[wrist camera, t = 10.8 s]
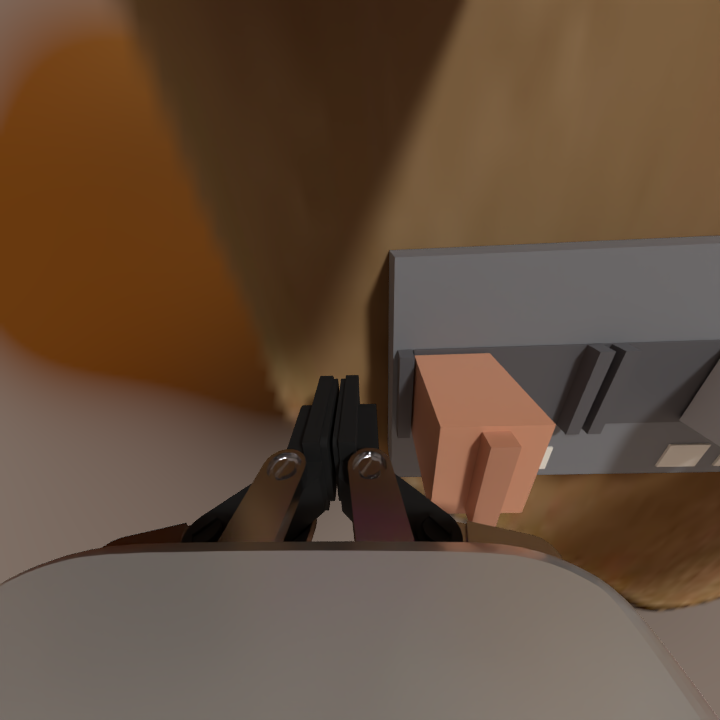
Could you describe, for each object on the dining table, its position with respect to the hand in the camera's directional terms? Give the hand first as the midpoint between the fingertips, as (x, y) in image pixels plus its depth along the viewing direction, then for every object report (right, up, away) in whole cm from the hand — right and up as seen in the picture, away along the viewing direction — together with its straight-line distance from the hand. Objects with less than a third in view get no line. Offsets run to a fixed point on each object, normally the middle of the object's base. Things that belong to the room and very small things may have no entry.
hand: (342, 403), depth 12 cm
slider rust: (+5, 0, 0) cm, 5 cm away
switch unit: (+15, +2, +2) cm, 16 cm away
